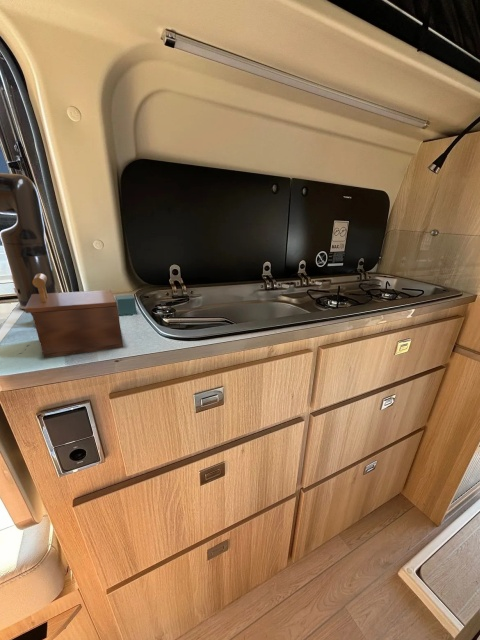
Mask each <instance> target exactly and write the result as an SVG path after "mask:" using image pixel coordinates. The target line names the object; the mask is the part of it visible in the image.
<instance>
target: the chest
mask: <svg viewBox="0 0 480 640" xmlns="http://www.w3.org/2000/svg"><path fill="white" fill-rule="evenodd" d="M31 317H32V319H33V323H34V326H35V327H34V328H35V331H36V334H37V337H38V341H39V344H40V348H41V352H42V356H43V359H49V358H56V357H63V356H69V355H71V356H72V355H76V354H85V353H91V352H97V351H103V350H112V349H119V348H124V342H123V341H124V340H123V334H122V330H121V329H122V328H121V322H120V315H119V313H118V308H117V306H109V307H97V308H84V309H71V310H59V311H46V312H33V313H32V315H31Z"/></svg>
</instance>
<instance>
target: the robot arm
mask: <svg viewBox="0 0 480 640" xmlns="http://www.w3.org/2000/svg"><path fill="white" fill-rule="evenodd" d="M41 205H42V204H41V199H40V195H39V193H38V190H37V187H36V186H35V184H34V182H33V181H32V180H31V178H29V177H28V176H26V175H24V174H19V173H7V172H0V214H1V215H11V216H12V215H13V216H16V223H15V224H14V225H12V226H11V227H8V228H5V229H2V230H1V231H0V240H1V244H2V247H3V251H4V255H5V259H6V261H7V265H8V268H9V272H10V276H11V279H12V282H13V285H14V287H13V290H14V293H15V294H16V297H17V300H18V304H19V309H21V310H25V307H26V306H25V302H28V301H29V299H30V297H31V295H32V294H39V291H38V287H35V286H34V285H33V279H34V278H35V276H36V275H37V274H39V273H41V274H44V275H45V276H46V277H47V280H46V283H45V288H46V292H47V293H63V292H62V291H59V292H58V290H57V285H56V282H55V277H54V273H53V268H52V264H51V259H50V255H49V250H48V247H47V243H46V238H45V237H46V229H45V223H44V218H43V211H42V206H41Z"/></svg>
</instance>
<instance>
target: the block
mask: <svg viewBox="0 0 480 640" xmlns="http://www.w3.org/2000/svg"><path fill="white" fill-rule="evenodd" d="M114 298H115V300H116V302H117V308H118V314H119V316H127V315H137V313H138V311H137V305H136V298H135V297H134V296H133V294H123V295H121V294H120V295H114Z"/></svg>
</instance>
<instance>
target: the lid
mask: <svg viewBox="0 0 480 640" xmlns="http://www.w3.org/2000/svg"><path fill="white" fill-rule="evenodd" d="M46 280H47V277H46V276H45V275H44V274H41V273H39V274H37V275H36V276H35V278H34V279H33V285H34V286H35V287H38V291H39V294H32V295H31V297H30V299H29V301H28V303H27V305H26V307H25V309H24V312H25V314H31V313H33V312H46V311H59V310H71V309H84V308H97V307H109V306H117V302H116V299H115V295H114V293H113V292H112V290H111V289H103V290H102V289H101V290H87V291H68V292H67V291H66V292H62V293H59V292H57V293H47V292H46V288H45V283H46Z"/></svg>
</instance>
